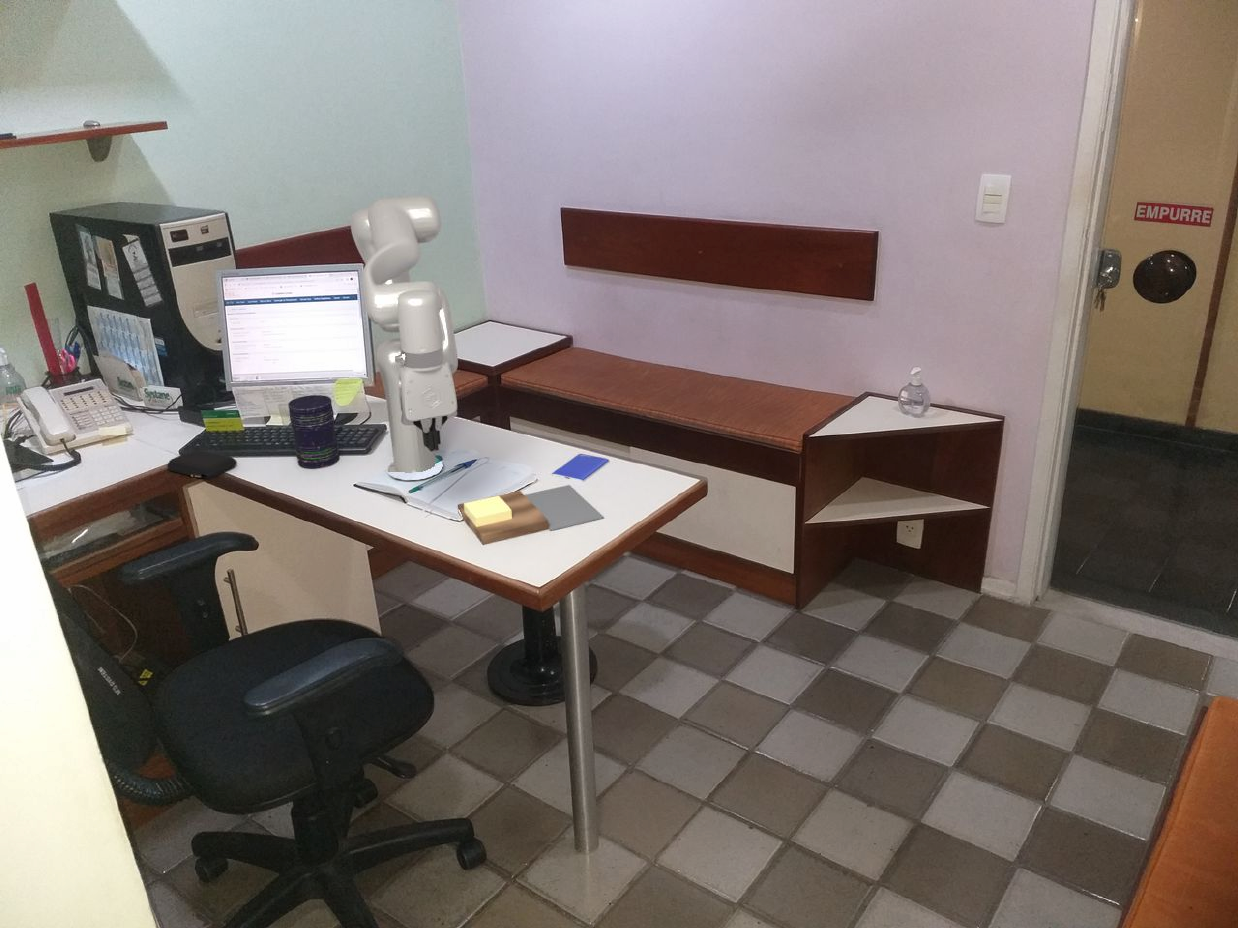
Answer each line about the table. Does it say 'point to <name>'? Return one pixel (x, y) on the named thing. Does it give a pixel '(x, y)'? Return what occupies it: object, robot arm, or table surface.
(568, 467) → the hard drive
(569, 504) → the mat
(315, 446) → the storage jar
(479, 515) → the sticky pad
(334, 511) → the table surface
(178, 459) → the carrying case or bag
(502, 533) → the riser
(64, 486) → the table surface
